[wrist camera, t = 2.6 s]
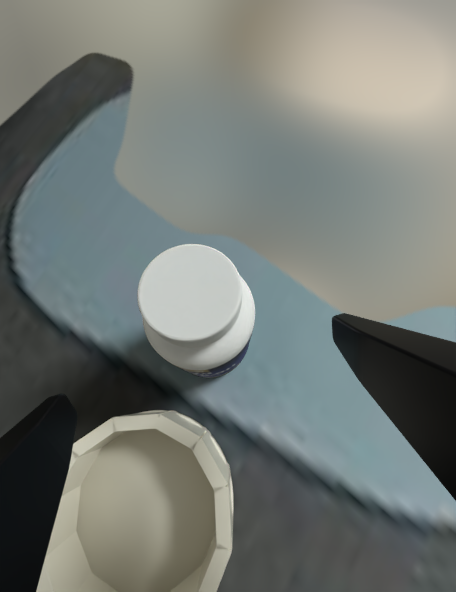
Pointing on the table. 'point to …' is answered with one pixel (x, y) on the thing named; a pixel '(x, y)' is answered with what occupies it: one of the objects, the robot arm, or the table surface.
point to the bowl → (142, 509)
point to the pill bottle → (196, 310)
